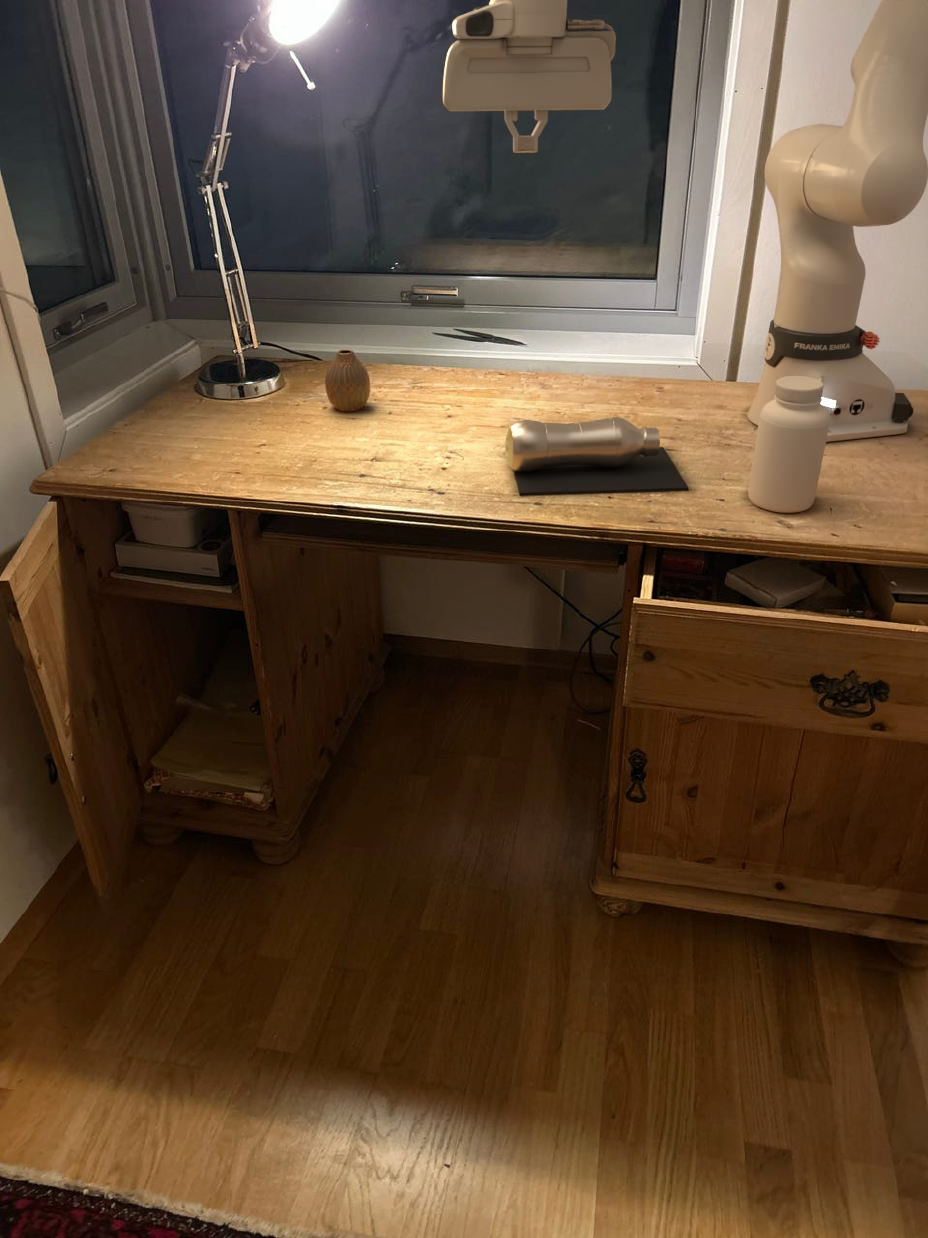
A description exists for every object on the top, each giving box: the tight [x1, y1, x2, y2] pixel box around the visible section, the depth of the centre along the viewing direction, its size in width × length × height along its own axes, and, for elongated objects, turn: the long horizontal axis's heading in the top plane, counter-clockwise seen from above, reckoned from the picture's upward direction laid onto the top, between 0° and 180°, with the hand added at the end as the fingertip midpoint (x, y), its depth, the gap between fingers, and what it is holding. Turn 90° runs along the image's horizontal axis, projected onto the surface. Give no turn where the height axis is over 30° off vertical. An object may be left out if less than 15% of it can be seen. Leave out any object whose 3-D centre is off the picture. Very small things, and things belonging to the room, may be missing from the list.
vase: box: [324, 349, 371, 412], centre depth 147 cm, size 7×7×9 cm
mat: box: [512, 446, 689, 496], centre depth 127 cm, size 22×14×1 cm, turn 93°
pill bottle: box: [747, 376, 830, 514], centre depth 114 cm, size 8×8×15 cm
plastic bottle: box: [504, 416, 661, 472], centre depth 125 cm, size 6×7×20 cm
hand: (525, 152), depth 118 cm, fingers closed
